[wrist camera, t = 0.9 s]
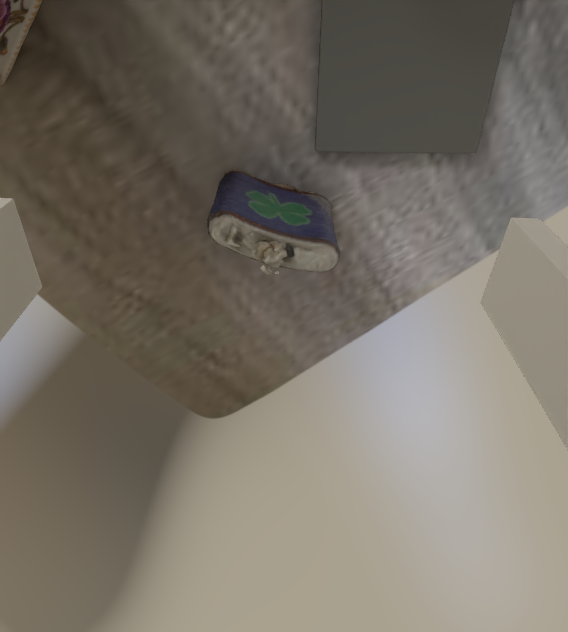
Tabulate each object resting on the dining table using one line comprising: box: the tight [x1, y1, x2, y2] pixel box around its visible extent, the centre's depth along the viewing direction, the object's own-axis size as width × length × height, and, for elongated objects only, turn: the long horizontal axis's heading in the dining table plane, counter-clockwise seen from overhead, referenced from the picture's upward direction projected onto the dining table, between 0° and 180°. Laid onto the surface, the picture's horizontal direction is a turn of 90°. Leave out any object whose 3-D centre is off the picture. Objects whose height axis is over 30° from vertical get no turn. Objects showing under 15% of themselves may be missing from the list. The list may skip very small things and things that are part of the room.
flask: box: [207, 169, 340, 275], centre depth 33 cm, size 9×3×11 cm, turn 73°
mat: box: [315, 0, 514, 153], centre depth 31 cm, size 12×12×1 cm
